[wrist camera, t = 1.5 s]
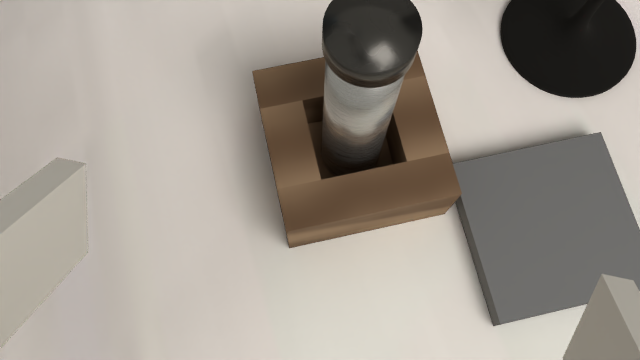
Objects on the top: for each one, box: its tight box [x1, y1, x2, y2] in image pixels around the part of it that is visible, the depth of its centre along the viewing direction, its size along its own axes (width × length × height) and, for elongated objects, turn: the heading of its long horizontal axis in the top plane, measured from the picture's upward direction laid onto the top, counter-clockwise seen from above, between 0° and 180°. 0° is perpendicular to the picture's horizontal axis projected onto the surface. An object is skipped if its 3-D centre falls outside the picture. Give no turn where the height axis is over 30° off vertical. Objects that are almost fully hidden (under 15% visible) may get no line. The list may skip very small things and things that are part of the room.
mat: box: [453, 132, 640, 326], centre depth 40 cm, size 11×11×2 cm
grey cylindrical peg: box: [321, 0, 422, 176], centre depth 34 cm, size 4×4×16 cm
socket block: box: [252, 51, 462, 248], centre depth 40 cm, size 11×11×5 cm
